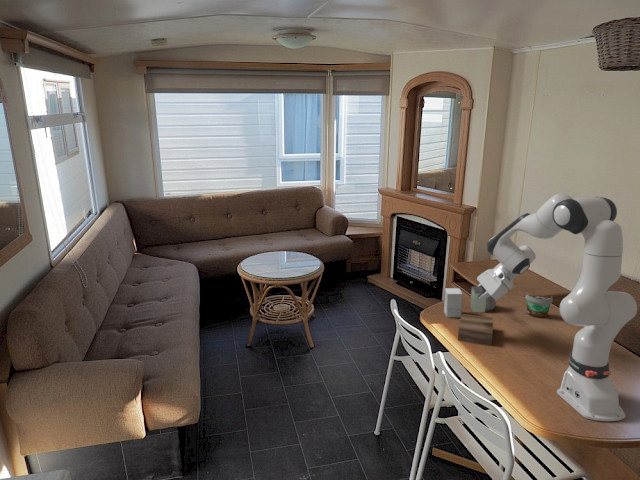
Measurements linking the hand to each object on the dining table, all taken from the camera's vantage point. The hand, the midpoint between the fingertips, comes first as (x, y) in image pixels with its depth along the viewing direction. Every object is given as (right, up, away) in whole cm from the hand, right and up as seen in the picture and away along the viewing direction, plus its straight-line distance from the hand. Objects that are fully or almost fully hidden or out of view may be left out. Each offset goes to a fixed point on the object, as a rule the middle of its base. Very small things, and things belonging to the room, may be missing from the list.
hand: (477, 296), depth 206 cm
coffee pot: (+14, -12, +27) cm, 33 cm away
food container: (+37, -13, +22) cm, 45 cm away
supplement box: (-4, -12, +26) cm, 29 cm away
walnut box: (+1, -18, +5) cm, 19 cm away
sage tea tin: (+1, -6, +2) cm, 6 cm away
